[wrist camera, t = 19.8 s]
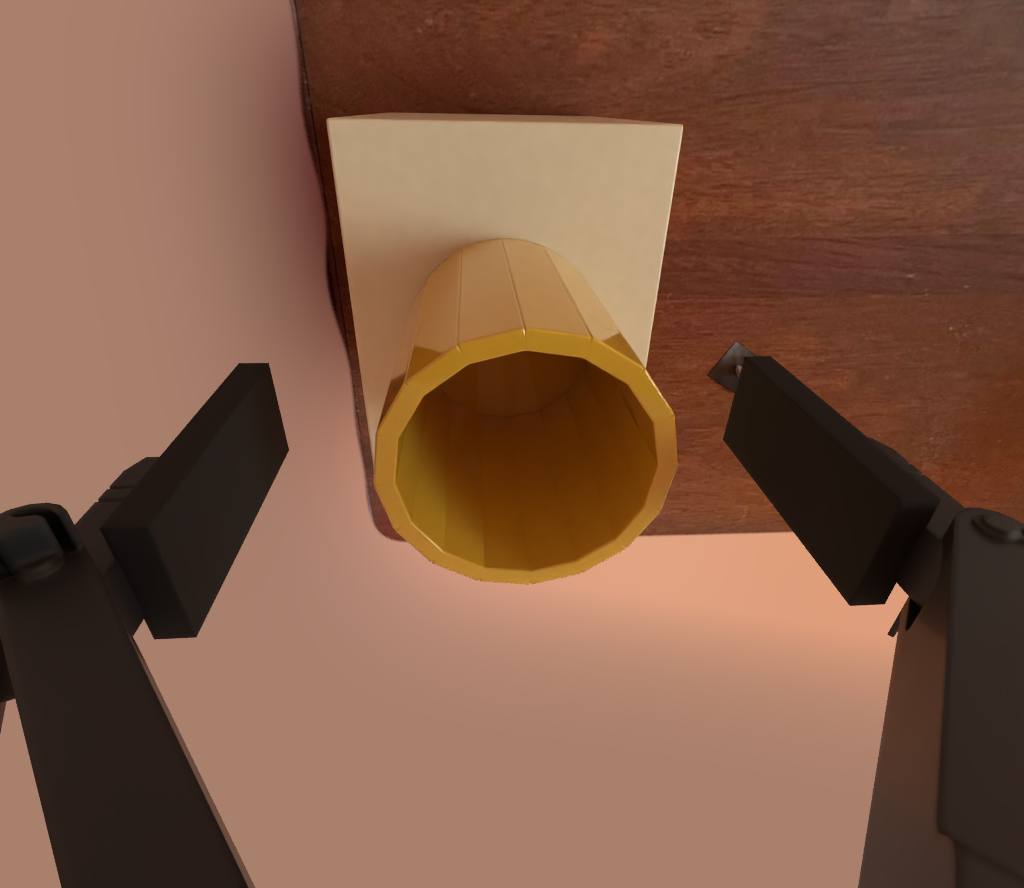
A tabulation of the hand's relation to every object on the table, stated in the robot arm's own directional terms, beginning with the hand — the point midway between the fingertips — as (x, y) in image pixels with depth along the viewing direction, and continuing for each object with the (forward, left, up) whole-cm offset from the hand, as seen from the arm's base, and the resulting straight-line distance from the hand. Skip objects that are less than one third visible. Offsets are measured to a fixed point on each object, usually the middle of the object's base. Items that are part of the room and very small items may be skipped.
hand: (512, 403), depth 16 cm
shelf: (0, 0, -22) cm, 22 cm away
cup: (0, 0, -6) cm, 6 cm away
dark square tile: (+17, +9, -22) cm, 29 cm away
